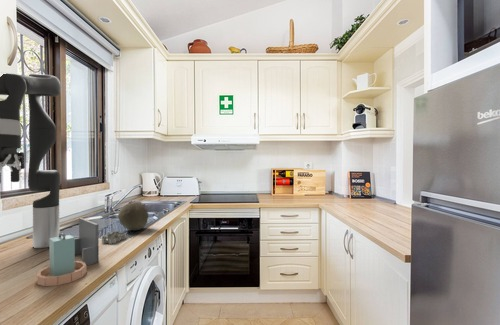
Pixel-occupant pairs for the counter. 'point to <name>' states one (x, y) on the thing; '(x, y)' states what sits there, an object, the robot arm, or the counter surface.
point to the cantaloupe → (133, 216)
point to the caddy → (62, 255)
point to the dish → (46, 280)
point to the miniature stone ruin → (113, 237)
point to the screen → (88, 241)
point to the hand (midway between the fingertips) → (6, 182)
